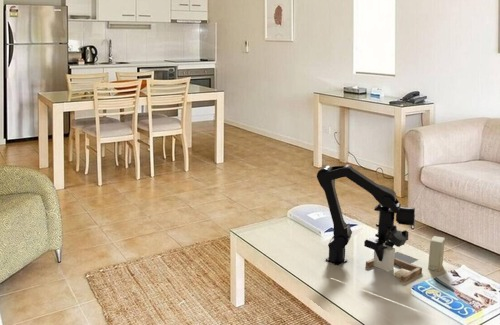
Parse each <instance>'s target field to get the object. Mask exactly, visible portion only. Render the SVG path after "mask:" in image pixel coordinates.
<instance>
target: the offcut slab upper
mask: <svg viewBox="0 0 500 325" xmlns="http://www.w3.org/2000/svg"><path fill="white" fill-rule="evenodd" d="M410 271H411V270H408V269H406V268H400V269H399V270H396V271H395V272H394V275H395V276H396V278H398V277H399V278H398V279H400V278H401V276H402V275H404V274H406V273H408V272H410ZM395 276H394V277H395Z"/></svg>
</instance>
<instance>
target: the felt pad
mask: <svg viewBox="0 0 500 325" xmlns="http://www.w3.org/2000/svg"><path fill="white" fill-rule="evenodd" d="M395 258H397V259H400V260H403V261H405V262H408V263H410V264H413V263H414V262H417V261H419V259H418V258H415V257H413V256H410V255H407V254H404V253H401V252H399V251H395Z"/></svg>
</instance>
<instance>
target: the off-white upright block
mask: <svg viewBox="0 0 500 325" xmlns="http://www.w3.org/2000/svg"><path fill="white" fill-rule="evenodd" d="M385 246H386V247H387V248H386V249H385V250H384V254H383V259H382V261H379V259H378V257H377V254H376V252H375V250H373V258H374V262H373V266H372V267H376V268H378V269H381V270H383V271H385V272H387V273H389V272H391V271H393V270H394V267H395V266H394V265H395V264H394V257H395V252H396V248H395V247H393V248H392V247H390V246H387V245H385Z"/></svg>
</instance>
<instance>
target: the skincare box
mask: <svg viewBox="0 0 500 325" xmlns="http://www.w3.org/2000/svg"><path fill="white" fill-rule="evenodd" d="M445 241H446V237H444V236H443V237H442V236H437V235H433V236H432V238H431V239H430V242H429V252H428V253H429V254H428V255H429V256H428V263H427V264H428V266H427V269H428V270H430V271H431V270H432V271H437V272H440V270H441V269H442V268H443V265H444V264H443V262H444V255H445V254H444V253H445Z"/></svg>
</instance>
